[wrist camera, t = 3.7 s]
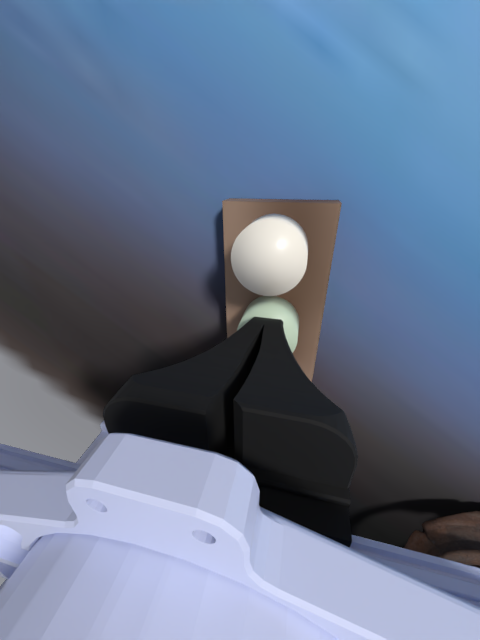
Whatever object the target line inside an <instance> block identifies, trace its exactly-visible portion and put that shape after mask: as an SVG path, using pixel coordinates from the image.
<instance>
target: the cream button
mask: <svg viewBox="0 0 480 640" xmlns="http://www.w3.org/2000/svg"><path fill="white" fill-rule="evenodd" d="M307 259H308V241H307V237H306V234H305V232H304V230H303V229H302V227H301V226H300V225H299V224H298V223H297V222H296V221H295V220H293V219H292V218H290V217H288V216H285V215H281V214H267V215H264V216H261V217H259V218H257V219H256V220H254V221H253V222H252V223H251V224H249V225H248V226H247V227H246V228H245V229H244V230H243V231H242V232H241V233H240V234H239V235H238V236H237V238H236V239H235V242H234V244H233V247H232V251H231V265H232V269H233V272H234V274H235V276H236V278H237V279H238V281H239V282H240V283H241V284H242V285H243V286H244V287H245V288H247V289H248V290H250V291H251V292H253V293H256V294H259V295H263V296H277V295H281V294H284V293H286V292H288V291H290V290H291V289H293V288H294V287H295V286H296V285H297V284H298V283H299V282H300V280H301V279H302V277H303V275H304V273H305V271H306V267H307Z"/></svg>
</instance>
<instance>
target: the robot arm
mask: <svg viewBox="0 0 480 640" xmlns="http://www.w3.org/2000/svg"><path fill="white" fill-rule="evenodd" d="M103 417H104V421H103V422H102V423H101V424H100V427H101V430H102V431H101V433H100V434H99V435H98V436H97V438H96V439H95V440H94V441H93V442H92V444H91V445H90V446H89V447H88V449H87V450H86V451H85V452H84V454H83V455H82V456H81V457H80V459H79V460H78V461H77V462H76V463H73V462H69V461H65V460H61V459H58V458H54V457H50V456H46V455H42V454H39V453H35V452H31V451H27V450H23V449H19V448H15V447H11V446H7V445H4V444H0V576H1V577H3V578H5V579H6V580H5V581H4V582H3V583H2V585H1V586H0V640H480V568H478V567H474V566H470V565H466V564H462V563H458V562H454V561H451V560H447V559H443V558H439V557H435V556H431V555H428V554H424V553H420V552H416V551H412V550H408V549H404V548H401V547H397V546H393V545H389V544H385V543H381V542H377V541H374V540H370V539H366V538H362V537H358V536H354V535H351V526H350V516H349V507H350V502H351V499H350V490H349V486H350V483H351V480H352V477H353V475H354V472H355V469H356V466H357V458H358V455H357V449H356V445H355V441H354V437H353V434H352V431H351V428H350V425H349V423H348V420H347V418H346V415H345V413H344V412H343V411H342V410H341V409H340V408H339V407H338V406H336V405H335V404H334V403H333V402H331V401H330V400H329V399H328V398H327V397H325V396H324V395H323V394H322V393H321V392H320V391H319V390H318V389H317V388H316V387H315V385H314V384H313V383H312V382H311V381H310V380H309V378H308V377H307V376H306V375H305V373H304V372H303V370H302V369H301V367H300V366H299V364H298V363H297V361H296V359H295V357H294V355H293V353H292V351H291V349H290V347H289V345H288V342H287V339H286V336H285V333H284V328H283V321H282V320H281V319H272V318H263V317H253V318H252V319H251V320H249V321H248V322H247V323H246V324H245V325H244V326H242V327H241V328H240V329H239V330H237V331H236V332H235V333H234V334H232V335H231V336H230V337H228V338H227V339H225V340H224V341H223V342H221V343H220V344H218V345H216V346H215V347H213V348H211V349H209V350H207V351H206V352H204V353H202V354H199V355H197V356H195V357H193V358H190V359H188V360H186V361H183V362H180V363H177V364H175V365H171V366H168V367H165V368H161V369H158V370H154V371H149V372H145V373H141V374H136V375H132V376H131V377H130V378H129V380H128V381H127V382H126V383H125V384H124V385H123V386H122V387H121V389H120V390H119V391H118V392H117V393H116V394H115V395H114V397H113V398H112V399H111V400H110V401H109V402H108V404H107V405H106V406H105V408H104V413H103Z"/></svg>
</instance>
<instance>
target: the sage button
mask: <svg viewBox="0 0 480 640" xmlns="http://www.w3.org/2000/svg"><path fill="white" fill-rule="evenodd" d="M253 317H263V318H272V319H281V320H282V321H283V328H284V333H285V336H286V339H287V342H288V345H289V347H290V349H291V351H292V353H293V352H294V350H295V348H296V346H297V341H298V330H299V316H298V313H297V311H296V309H295V308H294V306H293V305H292V304H291V303H290V302H288V301H287V300H285V299H283V298H281V297H277V296H262V297H259V298H257V299H255V300H253V301H252V302H251V303H250V304H249V305H248V307H247V308H246V310H245V312H244V315H243V317H242V319H241V321H240V323H239V325H238V328H237V330H239V329H240V328H241V327H242V326H244V325H245V324H246V323H247V322H248V321H249V320H251V319H252V318H253Z"/></svg>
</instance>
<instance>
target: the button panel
mask: <svg viewBox="0 0 480 640" xmlns="http://www.w3.org/2000/svg"><path fill="white" fill-rule="evenodd" d="M222 202H223V231H224V260H225V289H226V318H227V338H228V337H230V336H231V335H232V334H234V333H235V332H236V331H237V328H238V325H239V323H240V321H241V319H242V317H243V315H244V312H245V310H246V308H247V307H248V305H249V304H250V303H251V302H252V301H253V300H255V299H257V298H259V297H262V296H263V295H259V294H256V293H253V292H251V291H250V290H248V289H247V288H245V287H244V286H243V285H242V284H241V283H240V282H239V281H238V279H237V278H236V276H235V274H234V272H233V269H232V265H231V251H232V247H233V244H234V242H235V239H236V238H237V236H238V235H239V234H240V233H241V232H242V231H243V230H244V229H245V228H246V227H247V226H248V225H249V224H251V223H252V222H253V221H254V220H256V219H257V218H259V217H261V216H264V215H267V214H281V215H285V216H288V217H290V218H292V219H293V220H295V221H296V222H297V223H298V224H299V225H300V226H301V227H302V229H303V230H304V232H305V234H306V237H307V241H308V259H307V267H306V271H305V273H304V275H303V277H302V279H301V280H300V282H299V283H298V284H297V285H296V286H295V287H294V288H293V289H291V290H290V291H288V292H286V293H284V294H281V295H277V297H281V298H283V299H285V300H287V301H288V302H290V303H291V304H292V305H293V306H294V308H295V309H296V311H297V313H298V316H299V330H298V341H297V346H296V348H295V350H294V352H293V355H294V357H295V359H296V361H297V363H298V364H299V366H300V367H301V369H302V370H303V372H304V373H305V375H306V376H307V377H308V378H309V380H310V381H311V382H312V377H313V371H314V365H315V359H316V353H317V347H318V341H319V335H320V329H321V323H322V317H323V311H324V305H325V299H326V293H327V287H328V281H329V275H330V269H331V263H332V257H333V251H334V245H335V239H336V233H337V227H338V221H339V215H340V209H341V202H340V201H339V200H288V199H227V200H224V201H222Z"/></svg>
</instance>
